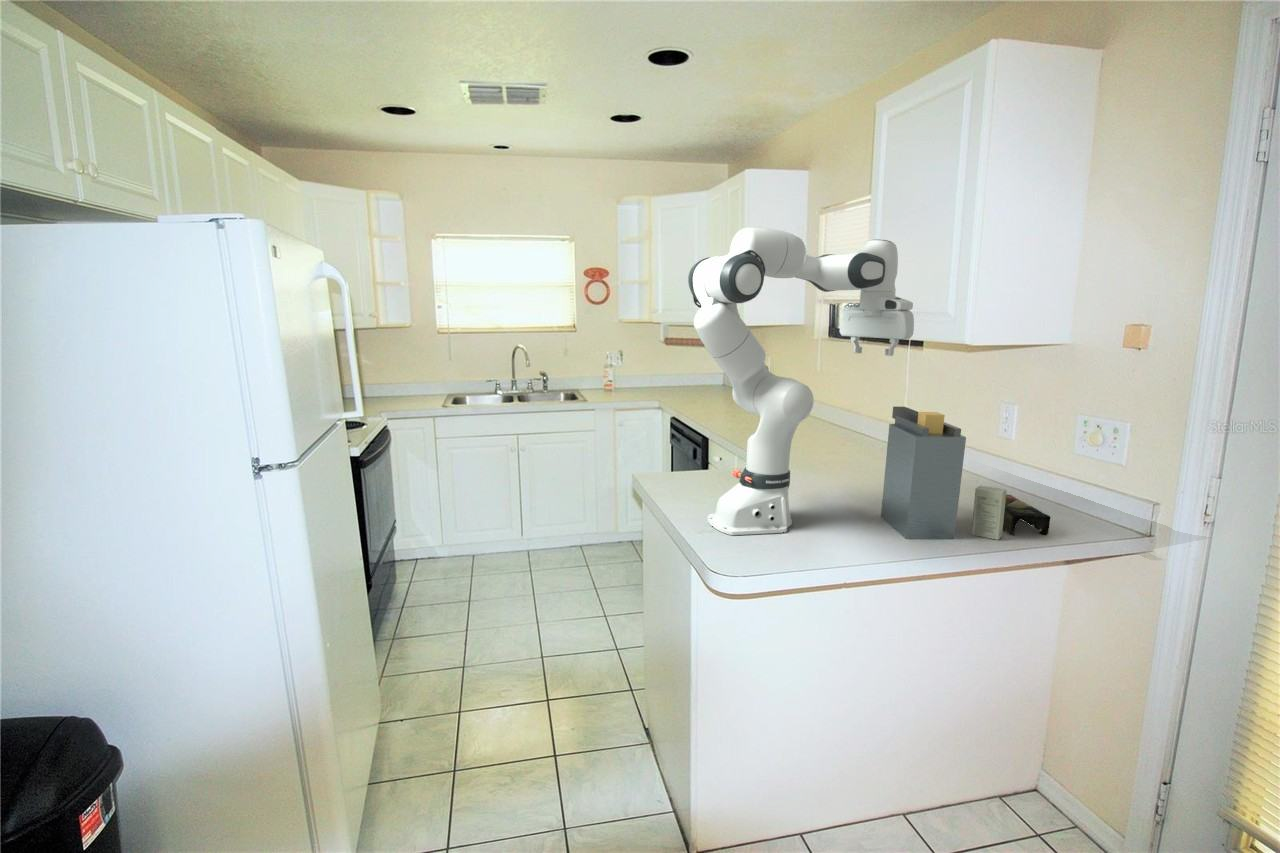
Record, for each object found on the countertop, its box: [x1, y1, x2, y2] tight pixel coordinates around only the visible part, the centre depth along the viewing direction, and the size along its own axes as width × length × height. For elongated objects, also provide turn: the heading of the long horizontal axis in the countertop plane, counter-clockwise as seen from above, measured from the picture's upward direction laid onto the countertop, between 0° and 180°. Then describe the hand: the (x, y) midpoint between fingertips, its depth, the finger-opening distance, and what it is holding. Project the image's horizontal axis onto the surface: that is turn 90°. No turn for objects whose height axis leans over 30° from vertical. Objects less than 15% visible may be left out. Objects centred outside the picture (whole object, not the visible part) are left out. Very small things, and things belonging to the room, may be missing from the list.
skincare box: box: [971, 485, 1007, 541], centre depth 153 cm, size 6×4×12 cm
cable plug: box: [891, 406, 946, 433], centre depth 160 cm, size 21×5×5 cm, turn 0°
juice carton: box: [1003, 493, 1051, 536], centre depth 164 cm, size 20×10×6 cm, turn 177°
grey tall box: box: [880, 416, 967, 540], centre depth 157 cm, size 16×12×28 cm
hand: (873, 354), depth 167 cm, fingers open, 8 cm apart
